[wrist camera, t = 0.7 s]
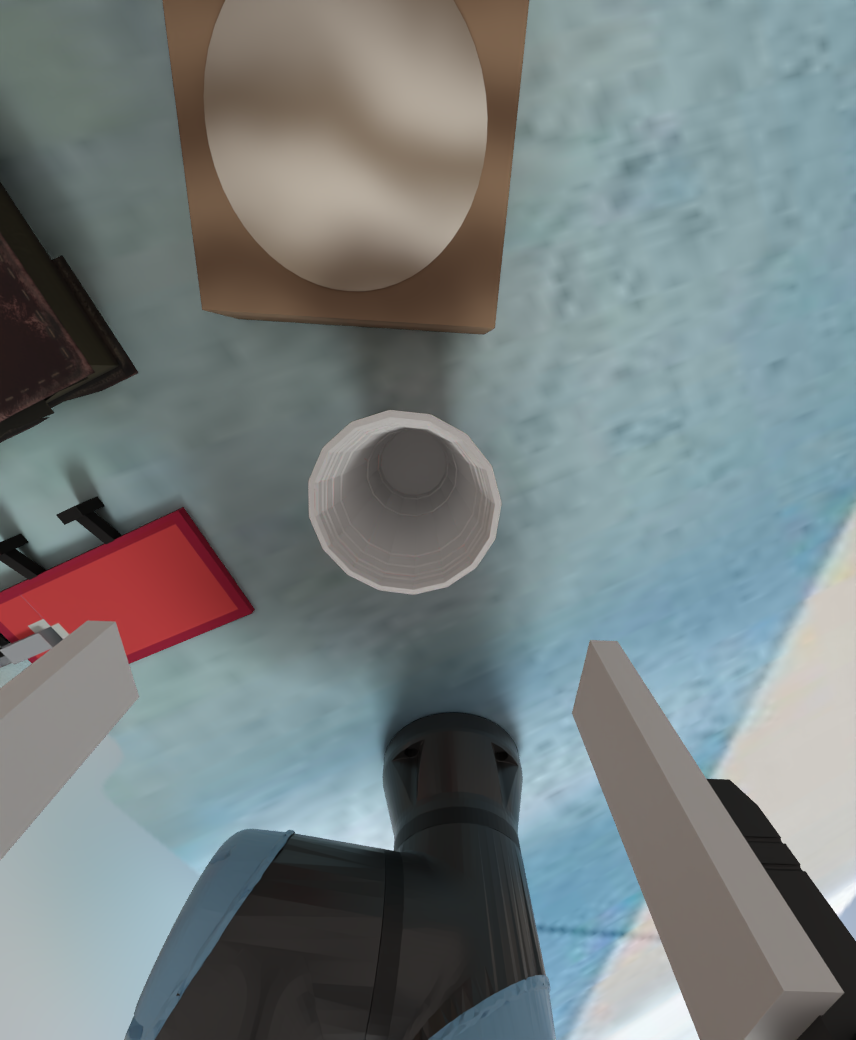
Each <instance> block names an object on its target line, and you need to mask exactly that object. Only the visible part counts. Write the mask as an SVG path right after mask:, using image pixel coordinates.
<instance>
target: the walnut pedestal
mask: <svg viewBox="0 0 856 1040" xmlns="http://www.w3.org/2000/svg"><path fill="white" fill-rule="evenodd" d="M528 6H529V0H163V8H164V16H165V23H166V31H167V39H168V47H169V55H170V62H171V70H172V78H173V86H174V93H175V101H176V109H177V117H178V125H179V132H180V140H181V148H182V156H183V164H184V171H185V179H186V187H187V195H188V203H189V210H190V218H191V226H192V234H193V242H194V249H195V257H196V265H197V273H198V280H199V288H200V296H201V304H202V310H205V311H209V312H213V313H217V314H221V315H225V316H229V317H233V318H236V319H247V320H263V321H279V322H295V323H310V324H326V325H342V326H358V327H374V328H390V329H406V330H422V331H438V332H454V333H470V334H486V333H487V332H489V331H491V330H492V329H494V328H495V320H496V311H497V301H498V291H499V282H500V272H501V263H502V253H503V244H504V234H505V225H506V215H507V206H508V196H509V187H510V177H511V168H512V158H513V149H514V139H515V130H516V120H517V111H518V101H519V92H520V82H521V73H522V63H523V54H524V44H525V35H526V25H527V15H528Z"/></svg>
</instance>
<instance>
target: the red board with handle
mask: <svg viewBox="0 0 856 1040" xmlns="http://www.w3.org/2000/svg"><path fill="white" fill-rule="evenodd" d="M102 507H104V504H103V503H102V502H101V500H100V499H99V498H98V497H95V498H92V499H90V500H88V501H85V502H83V503H81V504H78V505H76V506H74V507H72V508H70V509H67V510H65V511H63V512H61V513H59V514H57V517H58V518H59V519H60V520H61V521H62V522H63V524H64V525H65V524H67V523H70V522H72V521H74V520H76V521H78V522H79V523H80V524H81V525H83V526H84V527H85V528H86V529H88V530H89V531H90V532H91V533H92V534H94V535H95V536H96V537H97V538H99V539H100V540H101V541H102V542H104V543H105V544H102V545H100V546H98V547H96V548H94V549H92V550H90V551H87V552H85V553H83V554H81V555H79V556H77V557H74V558H72V559H70V560H68V561H66V562H64V563H61V564H59V565H57V566H55V567H53V568H51V569H48V570H45V569H44V568H42V567H41V566H39V565H38V564H37V563H35V562H34V561H32V560H31V559H29V558H28V557H27V556H25V555H24V554H22V553H21V552H19V551H18V550H17V549H16V548H18V547H20V546H22V545H24V544H26V543H28V541H27V540H26V539H25V537H24V536H23V535H22V534H18V535H16V536H14V537H12V538H9V539H7V540H5V541H2V542H0V561H2V562H3V563H5V564H6V565H8V566H9V567H11V568H12V569H14V570H15V571H17V572H18V573H20V574H21V575H23V576H24V577H26V578H27V580H25V581H23V582H20V583H18V584H16V585H14V586H12V587H10V588H7V589H5V590H3V591H1V592H0V633H1V634H2V635H3V636H4V637H5V638H6V639H7V640H9V641H10V643H9V644H8V643H7V642H6V641H5V640H4V639H3V638H2V637H1V636H0V668H1V667H3V666H6V665H8V664H10V663H13V664H17V663H19V662H21V661H24V660H26V659H28V660H29V661H30V662H31V663H34V662H35V661H36V660H37V659H39V658H40V657H41V656H43V655H44V654H45V653H46V652H48V651H49V650H50V649H52V648H53V647H54V646H55V645H57V644H58V643H59V642H61V641H62V640H63V639H64V638H66V637H67V636H68V635H70V634H71V633H72V632H73V631H75V630H76V629H77V628H79V627H80V626H81V625H82V624H84V623H85V622H86V621H113V622H116V625H117V628H118V631H119V634H120V637H121V640H122V644H123V647H124V650H125V653H126V656H127V660H128V663H129V664H130V663H132V662H135V661H137V660H139V659H142V658H144V657H147V656H149V655H152V654H154V653H157V652H159V651H161V650H164V649H166V648H169V647H171V646H174V645H176V644H178V643H181V642H183V641H186V640H188V639H191V638H193V637H195V636H198V635H200V634H203V633H205V632H208V631H210V630H212V629H215V628H217V627H220V626H222V625H225V624H227V623H229V622H232V621H234V620H237V619H239V618H242V617H244V616H247V615H249V614H251V613H253V611H254V610H255V609H254V608H253V606H252V605H251V603H250V602H249V601H248V599H247V598H246V596H245V595H244V593H243V592H242V591H241V589H240V588H239V586H238V585H237V583H236V582H235V581H234V579H233V578H232V576H231V575H230V573H229V572H228V571H227V569H226V568H225V566H224V565H223V563H222V562H221V560H220V559H219V558H218V556H217V555H216V553H215V552H214V550H213V549H212V548H211V546H210V545H209V543H208V542H207V540H206V539H205V538H204V536H203V535H202V533H201V532H200V530H199V529H198V527H197V526H196V525H195V523H194V522H193V520H192V519H191V517H190V516H189V515H188V513H187V512H186V510H185V509H184V507H183V508H180V509H178V510H176V511H174V512H172V513H170V514H167V515H165V516H163V517H161V518H159V519H157V520H154V521H152V522H150V523H148V524H146V525H144V526H141V527H139V528H137V529H135V530H133V531H131V532H128V533H126V534H124V535H121V534H120V533H119V532H117V531H116V530H115V529H114V528H113V527H112V526H110V525H109V524H108V523H107V522H106V521H105V520H103V519H102V518H101V517H100V516H99V515H97V514H96V513H95V512H94V511H95V510H97V509H99V508H102Z"/></svg>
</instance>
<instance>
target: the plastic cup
mask: <svg viewBox="0 0 856 1040" xmlns="http://www.w3.org/2000/svg"><path fill="white" fill-rule="evenodd" d="M308 490H309V518H310V520H311V523H312V525H313V527H314V530H315V532H316V534H317V537H318V539H319V541H320V544H321V546H322V548H323V550H324V551H325V552H326V553H327V554H328V555H329V556H330V557H331V558H332V559H333V560H334V561H335V562H336V563H337V564H338V565H339V566H340V567H341V568H342V569H343V571H344V572H345V573H346V574H347V575H349V576H351V577H353V578H355V579H357V580H359V581H361V582H363V583H365V584H367V585H369V586H371V587H373V588H375V589H377V590H380V591H389V592H397V593H405V594H413V595H414V594H419V593H423V592H428V591H432V590H437V589H441V588H445V587H448V586H450V585H451V584H453V583H454V582H456V581H457V580H459V579H460V578H462V577H463V576H465V575H466V574H468V573H469V572H471V571H472V570H474V569H475V568H476V567H477V566H478V564H479V563H480V561H481V560H482V558H483V557H484V555H485V554H486V552H487V551H488V549H489V548H490V546H491V545H492V543H493V542H494V540H495V539H496V533H497V527H498V521H499V515H500V510H501V504H502V503H501V499H500V495H499V491H498V487H497V483H496V479H495V476H494V472H493V468H492V466H491V464H490V463H489V462H488V460H487V459H486V458H485V457H484V455H483V454H482V453H481V451H480V450H479V449H478V448H477V446H476V445H475V444H474V442H473V441H472V440H471V439H470V437H469V436H468V435H467V434H465V433H464V432H462V431H460V430H458V429H456V428H455V427H453V426H451V425H449V424H447V423H446V422H444V421H442V420H440V419H439V418H437V417H435V416H433V415H431V414H424V413H414V412H405V411H396V410H387V411H384V412H381V413H378V414H375V415H372V416H368V417H365V418H362V419H359V420H356V421H352V422H350V423H349V424H348V425H347V426H346V427H345V428H344V429H343V430H342V431H340V432H339V433H338V434H337V435H336V436H335V437H334V438H333V439H332V440H330V441H329V442H328V443H327V444H326V445H325V446H324V447H323V448H322V450H321V453H320V455H319V457H318V460H317V462H316V464H315V467H314V469H313V471H312V474H311V476H310V478H309V481H308Z"/></svg>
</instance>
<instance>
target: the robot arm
mask: <svg viewBox="0 0 856 1040" xmlns="http://www.w3.org/2000/svg"><path fill="white" fill-rule="evenodd" d="M138 698H139V695H138V691H137V688H136V685H135V682H134V679H133V675H132V672H131V669H130V666H129V663H128V660H127V656H126V653H125V650H124V647H123V644H122V640H121V637H120V634H119V631H118V628H117V625H116V622H113V621H86V622H85V623H84V624H82V625H81V626H80V627H79V628H77V629H76V630H75V631H73V632H72V633H71V634H70V635H68V636H67V637H66V638H64V639H63V640H62V641H61V642H59V643H58V644H57V645H55V646H54V647H53V648H52V649H50V650H49V651H48V652H46V653H45V654H44V655H43V656H41V657H40V658H39V659H37V660H36V661H35V662H34V663H32V664H31V665H30V666H29V667H27V668H26V669H25V670H23V671H22V672H21V673H20V674H18V675H17V676H16V677H14V678H13V679H12V680H11V681H9V682H8V683H7V684H5V685H4V686H3V687H2V688H0V860H1V859H2V858H3V857H4V856H5V854H6V853H7V852H8V851H9V850H10V848H11V847H12V846H13V845H14V844H15V843H16V841H17V840H18V839H19V838H20V837H21V836H22V834H23V833H24V832H25V831H26V830H27V828H28V827H29V826H30V825H31V824H32V822H33V821H34V820H35V819H36V818H37V816H38V815H39V814H40V813H41V812H42V811H43V810H44V808H45V807H46V806H47V805H48V804H49V803H50V801H51V800H52V799H53V798H54V797H55V795H56V794H57V793H58V792H59V791H60V789H61V788H62V787H63V786H64V785H65V784H66V782H67V781H68V780H69V779H70V778H71V776H72V775H73V774H74V773H75V772H76V771H77V770H78V768H79V767H80V766H81V765H82V763H83V762H84V761H85V760H86V759H87V758H88V756H89V755H90V754H91V753H92V752H93V751H94V750H95V748H96V747H97V746H98V745H99V744H100V742H101V741H102V740H103V739H104V738H105V737H106V735H107V734H108V733H109V732H110V731H111V729H112V728H113V727H114V726H115V725H116V724H117V722H118V721H119V720H120V719H121V718H122V717H123V715H124V714H125V713H126V712H127V711H128V709H129V708H130V707H131V706H132V705H133V704H134V702H135V701H136V700H137V699H138ZM572 714H573V717H574V719H575V722H576V724H577V727H578V729H579V732H580V735H581V737H582V740H583V742H584V745H585V747H586V750H587V752H588V755H589V758H590V760H591V763H592V765H593V768H594V770H595V773H596V775H597V778H598V781H599V783H600V786H601V788H602V791H603V793H604V796H605V798H606V801H607V804H608V806H609V809H610V811H611V814H612V816H613V819H614V821H615V824H616V827H617V829H618V832H619V834H620V837H621V839H622V842H623V844H624V847H625V850H626V852H627V855H628V857H629V860H630V862H631V865H632V867H633V870H634V873H635V875H636V878H637V880H638V883H639V885H640V888H641V890H642V893H643V896H644V898H645V901H646V903H647V906H648V908H649V911H650V913H651V916H652V919H653V921H654V924H655V926H656V929H657V931H658V934H659V936H660V939H661V942H662V944H663V947H664V949H665V952H666V954H667V957H668V959H669V962H670V965H671V967H672V970H673V972H674V975H675V977H676V980H677V982H678V985H679V988H680V990H681V993H682V995H683V998H684V1000H685V1003H686V1005H687V1008H688V1011H689V1013H690V1016H691V1018H692V1021H693V1023H694V1026H695V1028H696V1031H697V1034H698V1036H699V1039H700V1040H856V941H855V940H854V938H853V937H852V935H851V934H850V933H849V931H848V930H847V929H846V927H845V926H844V924H843V923H842V922H841V920H840V919H839V917H838V916H837V915H836V913H835V912H834V910H833V909H832V908H831V906H830V905H829V904H828V902H827V901H826V899H825V898H824V897H823V895H822V894H821V892H820V891H819V890H818V888H817V887H816V886H815V884H814V883H813V881H812V880H811V879H810V877H809V876H808V874H807V873H806V872H805V871H802V870H801V868H800V863H799V862H798V861H797V859H796V858H795V856H794V855H793V854H792V852H791V851H790V850H789V848H788V847H787V845H786V844H783V843H782V841H781V839H780V838H781V837H780V836H779V834H778V833H777V831H776V830H775V829H774V827H773V826H772V825H771V823H770V822H769V820H768V819H767V818H766V816H765V815H764V813H763V812H762V811H761V809H760V808H759V807H758V805H756V804H755V803H754V802H753V801H752V800H751V799H750V798H749V797H748V796H747V795H746V794H745V793H743V792H742V791H741V790H740V789H739V788H738V787H737V786H736V785H735V784H734V783H733V782H732V781H730V780H724V779H706V778H705V776H704V775H703V773H702V772H701V770H700V768H699V767H698V765H697V764H696V762H695V761H694V759H693V758H692V756H691V754H690V753H689V751H688V750H687V748H686V747H685V745H684V744H683V742H682V741H681V739H680V737H679V736H678V734H677V733H676V731H675V730H674V728H673V727H672V725H671V724H670V722H669V720H668V719H667V717H666V716H665V714H664V713H663V711H662V710H661V708H660V706H659V705H658V703H657V702H656V700H655V699H654V697H653V696H652V694H651V693H650V691H649V689H648V688H647V686H646V685H645V683H644V682H643V680H642V679H641V677H640V676H639V674H638V672H637V671H636V669H635V668H634V666H633V665H632V663H631V662H630V660H629V658H628V657H627V655H626V654H625V652H624V651H623V649H622V648H621V646H620V645H619V643H618V641H599V640H590V642H589V646H588V650H587V654H586V659H585V663H584V667H583V671H582V675H581V679H580V683H579V687H578V691H577V695H576V699H575V703H574V707H573V711H572ZM383 788H384V792H385V797H386V801H387V806H388V810H389V815H390V819H391V824H392V829H393V833H394V839H395V840H394V851H391V850H385V849H381V848H375V847H369V846H363V845H358V844H352V843H346V842H340V841H334V840H329V839H323V838H317V837H311V836H306V835H300V834H294V833H295V832H294V831H293V830H288V831H287V832H278V831H268V830H259V829H245V830H242V831H240V832H237V833H236V834H234V835H233V836H231V837H230V838H229V839H228V840H227V841H226V842H225V843H224V844H223V845H222V846H221V847H220V848H219V850H218V851H217V852H216V853H215V855H214V856H213V858H212V859H211V861H210V862H209V864H208V865H207V867H206V868H205V870H204V872H203V873H202V875H201V876H200V878H199V880H198V882H197V883H196V885H195V887H194V888H193V890H192V892H191V894H190V895H189V897H188V899H187V901H186V903H185V905H184V906H183V908H182V910H181V912H180V914H179V916H178V918H177V920H176V922H175V924H174V926H173V928H172V929H171V931H170V934H169V935H168V937H167V939H166V941H165V943H164V945H163V948H162V949H161V951H160V954H159V956H158V958H157V960H156V962H155V965H154V966H153V969H152V971H151V973H150V975H149V977H148V979H147V982H146V984H145V986H144V989H143V991H142V994H141V996H140V998H139V1000H138V1003H137V1006H136V1009H135V1012H134V1017H133V1019H132V1022H131V1024H130V1026H129V1029H128V1031H127V1033H126V1036H125V1039H124V1040H556V1037H555V1030H554V1023H553V1016H552V1009H551V1002H550V995H549V993H550V984H549V979H548V977H547V976H546V974H545V969H544V964H543V959H542V954H541V949H540V944H539V939H538V934H537V929H536V924H535V919H534V914H533V909H532V904H531V899H530V894H529V889H528V884H527V879H526V874H525V869H524V864H523V859H522V855H521V850H520V845H519V839H518V821H519V811H520V801H521V791H522V768H521V764H520V759H519V755H518V751H517V748H516V745H515V743H514V741H513V740H512V738H511V737H510V736H509V735H508V734H507V732H505V731H504V730H503V729H502V728H501V727H499V726H498V725H496V724H495V723H493V722H491V721H489V720H487V719H484V718H482V717H479V716H475V715H470V714H464V713H442V714H436V715H431V716H427V717H424V718H421V719H419V720H417V721H414V722H412V723H411V724H409V725H407V726H406V727H404V728H403V729H402V730H401V731H399V732H398V733H397V734H396V735H395V737H394V738H393V739H392V740H391V742H390V744H389V745H388V748H387V750H386V753H385V759H384V768H383Z"/></svg>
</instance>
